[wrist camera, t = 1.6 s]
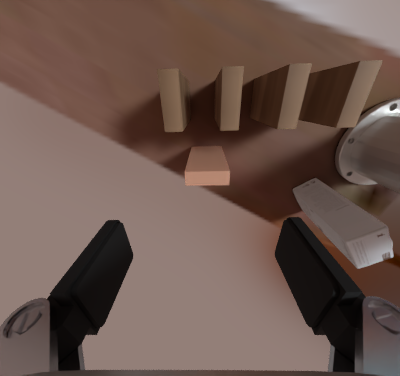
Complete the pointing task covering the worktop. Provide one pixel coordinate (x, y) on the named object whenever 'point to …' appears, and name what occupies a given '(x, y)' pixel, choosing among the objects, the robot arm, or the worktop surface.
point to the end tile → (207, 166)
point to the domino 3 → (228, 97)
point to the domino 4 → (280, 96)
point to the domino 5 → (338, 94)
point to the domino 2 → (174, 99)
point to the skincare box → (345, 223)
